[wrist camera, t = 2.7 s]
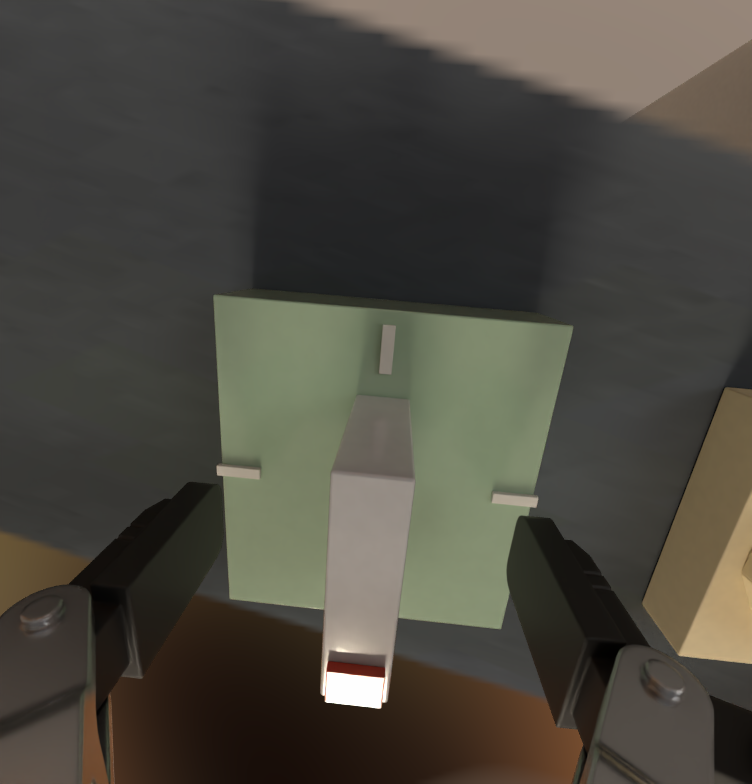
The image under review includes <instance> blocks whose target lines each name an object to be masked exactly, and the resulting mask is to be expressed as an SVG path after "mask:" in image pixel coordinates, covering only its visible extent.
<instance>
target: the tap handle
mask: <svg viewBox="0 0 752 784" xmlns="http://www.w3.org/2000/svg"><path fill="white" fill-rule="evenodd" d="M415 483H416V478H415V464H414V450H413V436H412V422H411V408H410V400H408V399H399V398H388V397H378V396H367V395H356V398H355V401H354V404H353V407H352V410H351V412H350V415H349V418H348V421H347V424H346V427H345V430H344V433H343V436H342V439H341V442H340V445H339V448H338V451H337V454H336V457H335V460H334V463H333V466H332V469H331V472H330V493H329V515H328V536H327V558H326V579H325V601H324V622H323V644H322V666H321V667H322V668H321V688H320V692H321V695H325V702H332V703H340V704H348V705H356V706H365V707H373V708H381V707H382V702H387V700H388V695H389V686H390V680H391V672H392V664H393V656H394V648H395V640H396V632H397V625H398V617H399V609H400V601H401V593H402V585H403V577H404V570H405V562H406V554H407V546H408V538H409V530H410V522H411V515H412V507H413V499H414V491H415Z"/></svg>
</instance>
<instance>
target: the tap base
mask: <svg viewBox="0 0 752 784" xmlns="http://www.w3.org/2000/svg"><path fill="white" fill-rule="evenodd" d="M213 300H214V318H215V337H216V355H217V374H218V392H219V410H220V429H221V447H222V464H218V465H217V475H219V476H223V484H224V503H225V521H226V539H227V558H228V576H229V595H230V599H234V600H243V601H252V602H261V603H270V604H279V605H288V606H297V607H306V608H315V609H324V601H325V579H326V558H327V536H328V515H329V493H330V472H331V469H332V466H333V463H334V460H335V457H336V454H337V451H338V448H339V445H340V442H341V439H342V436H343V433H344V430H345V427H346V424H347V421H348V418H349V415H350V412H351V410H352V407H353V404H354V401H355V398H356V395H367V396H378V397H388V398H399V399H408V400H410V408H411V422H412V436H413V450H414V464H415V478H416V483H415V491H414V499H413V507H412V515H411V522H410V530H409V538H408V546H407V554H406V562H405V570H404V577H403V585H402V593H401V601H400V609H399V617H398V618H404V619H413V620H422V621H431V622H440V623H449V624H458V625H467V626H476V627H485V628H494V629H501V626H502V622H503V618H504V614H505V609H506V605H507V601H508V597H509V593H510V591H509V588H508V584H507V574H506V569H507V561H508V556H509V552H510V547H511V543H512V539H513V534H514V530H515V526H516V522H517V519H518V517H519V516H521V515H523V516H528V514H529V510H530V507H535V508H536V506H537V502H538V496H537V495H533V493H534V489H535V485H536V481H537V477H538V472H539V468H540V464H541V460H542V456H543V452H544V448H545V443H546V439H547V435H548V431H549V427H550V423H551V419H552V414H553V410H554V406H555V402H556V398H557V394H558V390H559V385H560V381H561V377H562V373H563V369H564V365H565V360H566V356H567V352H568V348H569V344H570V340H571V336H572V331H573V326H572V325H569V324H566V323H564V322H561V321H558V320H555V319H552V318H550V317H547V316H544V315H541V314H539V313H534V312H522V311H511V310H499V309H487V308H476V307H464V306H452V305H441V304H429V303H417V302H406V301H394V300H382V299H371V298H359V297H347V296H336V295H324V294H312V293H301V292H289V291H278V290H266V289H254V288H252V289H246V290H240V291H234V292H228V293H222V294H216V295H214V296H213Z"/></svg>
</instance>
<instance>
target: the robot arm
mask: <svg viewBox="0 0 752 784" xmlns="http://www.w3.org/2000/svg"><path fill="white" fill-rule="evenodd" d="M222 542H223V513H222V495H221V488H220V486H219V485H217V484H207V483H197V482H189V483H187V484H186V485H185V486H184V487H183V488H182V489H181V490H180V491H179V492H178V493H177V494H176V495H175V496H174V497H173V498H172V499H164V500H162V501H160V502H158V503H157V504H155V505H153V506H151V507H149V508H148V509H146V510H145V511H143V512H142V513H141V514H140V515H139V516H138V517H137V518H136V519H135V520H134V521H133V522H132V523H131V526H130V527H127V528H126V529H125V530H124V531H123V532H122V533H121V534H120V535H119V537H118V539H115V540H114V541H113V542H112V543H111V544H109V545H108V546H107V547H106V548H105V549H104V550H103V551H102V552H101V553H100V554H99V555H98V556H97V557H96V558H95V559H94V560H93V561H92V562H91V563H90V564H89V565H88V566H87V567H86V568H85V569H84V570H83V571H82V572H81V573H80V574H79V575H78V576H77V577H75V578H74V579H73V580H72V581H71V582H70V583H69V584H68V585H59V586H54V587H50V588H46V589H43V590H41V591H38V592H36V593H33V594H31V595H29V596H28V597H25V598H24V599H22V600H21V601H19V602H17V603H16V604H14V605H13V606H12V607H10V608H9V609H8V610H7V611H5V612H4V613H3V614H2V615H1V616H0V784H114V763H113V736H112V709H111V697H110V692H111V690H112V689H113V687H114V686H115V684H116V683H117V682H118V680H119V679H120V677H121V676H123V677H132V678H140V679H142V678H143V676H144V675H145V673H146V672H147V670H148V668H149V667H150V665H151V663H152V662H153V660H154V659H155V657H156V655H157V654H158V652H159V651H160V649H161V647H162V646H163V644H164V642H165V641H166V639H167V638H168V636H169V634H170V633H171V631H172V629H173V628H174V626H175V625H176V623H177V621H178V620H179V618H180V616H181V615H182V613H183V611H184V610H185V608H186V607H187V605H188V604H189V602H190V600H191V599H192V597H193V595H194V594H195V592H196V591H197V589H198V587H199V586H200V584H201V582H202V581H203V579H204V578H205V576H206V574H207V573H208V571H209V569H210V568H211V566H212V565H213V563H214V561H215V560H216V558H217V556H218V554H219V552H220V549H221V546H222ZM506 574H507V584H508V588H509V591H510V594H511V597H512V600H513V603H514V605H515V608H516V611H517V614H518V617H519V620H520V623H521V626H522V629H523V632H524V634H525V637H526V640H527V643H528V646H529V649H530V652H531V655H532V658H533V661H534V663H535V666H536V669H537V672H538V675H539V678H540V681H541V684H542V687H543V690H544V692H545V695H546V698H547V701H548V704H549V707H550V710H551V713H552V716H553V719H554V721H555V724H556V727H560V728H569V729H578V732H579V734H580V737H581V739H582V742H583V747H582V750H581V752H580V755H579V759H578V762H577V766H576V769H575V773H574V777H573V780H572V783H571V784H752V711H749V710H746V709H744V708H741V707H739V706H736V705H733V704H731V703H728V702H725V701H723V700H720V699H718V698H715V697H713V696H710V695H708V693H707V691H706V690H705V688H704V687H703V685H702V684H701V683H700V682H699V681H698V679H697V678H696V677H695V676H694V675H693V674H692V673H691V672H690V671H689V670H688V669H686V668H685V667H684V666H683V665H682V664H680V663H679V662H677V661H676V660H675V659H673V658H671V657H670V656H668V655H667V654H665V653H663V652H661V651H659V650H656V649H654V648H651V647H650V646H649V644H648V643H647V641H646V640H645V638H644V637H643V635H642V634H641V632H640V631H639V629H638V627H637V626H636V624H635V623H634V621H633V620H632V618H631V617H630V615H629V614H628V612H627V611H626V609H625V608H624V606H623V605H622V603H621V602H620V600H619V599H618V597H617V596H616V594H615V593H614V591H611V587H610V585H609V584H608V582H607V581H606V579H605V578H604V576H601V572H600V570H599V569H598V567H597V566H596V564H595V563H594V561H593V560H592V558H591V557H590V555H588V554H587V553H586V552H585V551H584V550H583V549H581V548H580V547H579V546H578V545H577V544H576V543H574V542H573V541H572V540H564V538H563V537H562V535H561V533H560V532H559V530H558V528H557V527H556V525H555V524H554V522H553V521H552V520H551V519H550V518H543V517H533V516H523V515H521V516H519V517H518V519H517V522H516V526H515V530H514V534H513V539H512V543H511V547H510V552H509V556H508V561H507V569H506Z"/></svg>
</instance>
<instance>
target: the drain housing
mask: <svg viewBox="0 0 752 784" xmlns="http://www.w3.org/2000/svg"><path fill="white" fill-rule="evenodd" d="M642 605H643V606H644V608H645V609H646V610H647V612H648V613H649V615H650V616H651V617H652V619H653V620H654V622H655V623H656V624H657V626H658V627H659V629H660V630H661V631H662V633H663V634H664V636H665V637H666V638H667V640H668V641H669V643H670V644H671V646H672V647H673V648H674V650H675V651H676V653H677V654H678V655H679V656H687V657H696V658H704V659H713V660H722V661H731V662H740V663H749V664H752V389H741V388H730V387H726V388H725V389H724V391H723V394H722V397H721V399H720V402H719V404H718V407H717V410H716V412H715V415H714V417H713V420H712V423H711V425H710V428H709V430H708V433H707V436H706V438H705V441H704V443H703V446H702V448H701V451H700V454H699V456H698V459H697V461H696V464H695V467H694V469H693V472H692V474H691V477H690V480H689V482H688V485H687V487H686V490H685V493H684V495H683V498H682V500H681V503H680V506H679V508H678V511H677V513H676V516H675V519H674V521H673V524H672V526H671V529H670V532H669V534H668V537H667V539H666V542H665V545H664V547H663V550H662V552H661V555H660V558H659V560H658V563H657V565H656V568H655V571H654V573H653V576H652V578H651V581H650V584H649V586H648V589H647V591H646V594H645V597H644V599H643V602H642Z"/></svg>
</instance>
